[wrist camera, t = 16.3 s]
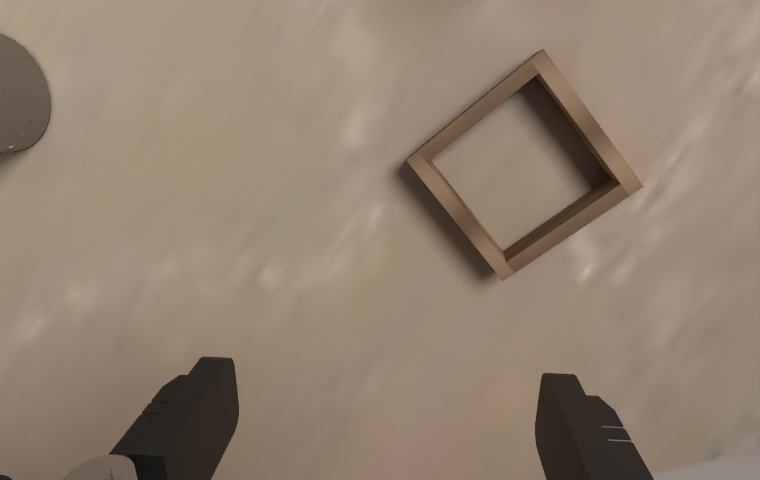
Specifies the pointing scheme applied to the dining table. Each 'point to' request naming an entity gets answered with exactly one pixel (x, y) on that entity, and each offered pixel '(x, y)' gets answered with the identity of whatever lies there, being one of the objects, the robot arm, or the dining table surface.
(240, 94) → the dining table surface
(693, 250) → the dining table surface
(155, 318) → the dining table surface
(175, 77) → the dining table surface
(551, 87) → the brown wooden square frame
